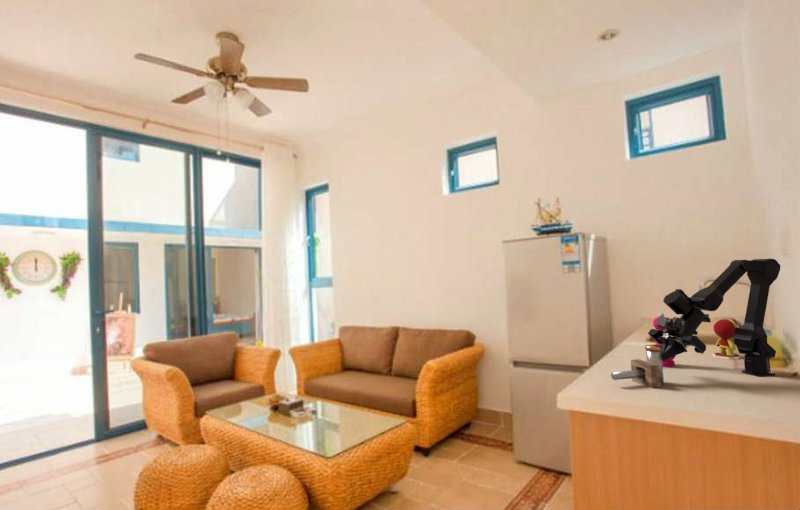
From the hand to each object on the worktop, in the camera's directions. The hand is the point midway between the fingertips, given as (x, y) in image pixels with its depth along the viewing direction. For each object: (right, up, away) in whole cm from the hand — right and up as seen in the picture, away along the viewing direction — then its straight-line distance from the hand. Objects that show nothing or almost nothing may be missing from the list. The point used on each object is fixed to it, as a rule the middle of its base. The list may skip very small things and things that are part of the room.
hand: (661, 359), depth 138 cm
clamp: (-8, -8, -2) cm, 11 cm away
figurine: (+45, -6, +30) cm, 54 cm away
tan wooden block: (-6, -8, -1) cm, 10 cm away
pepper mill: (+15, -8, +21) cm, 27 cm away
